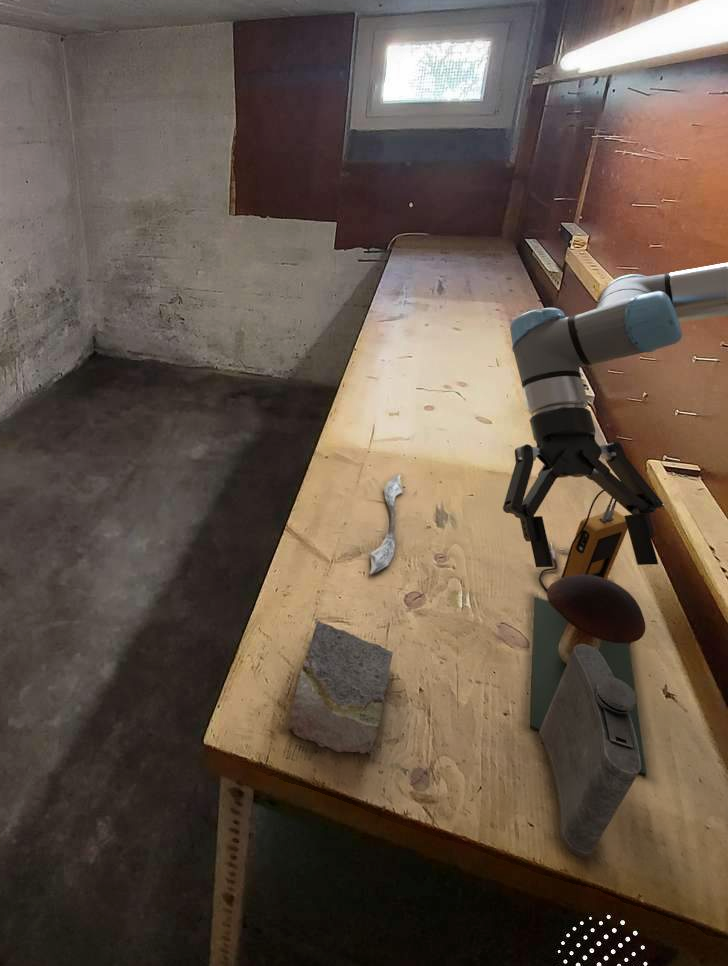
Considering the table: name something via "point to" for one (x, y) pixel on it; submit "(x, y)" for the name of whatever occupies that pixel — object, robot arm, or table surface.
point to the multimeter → (594, 544)
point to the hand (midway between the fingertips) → (596, 566)
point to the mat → (552, 666)
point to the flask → (590, 747)
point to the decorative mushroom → (594, 612)
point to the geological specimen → (340, 691)
